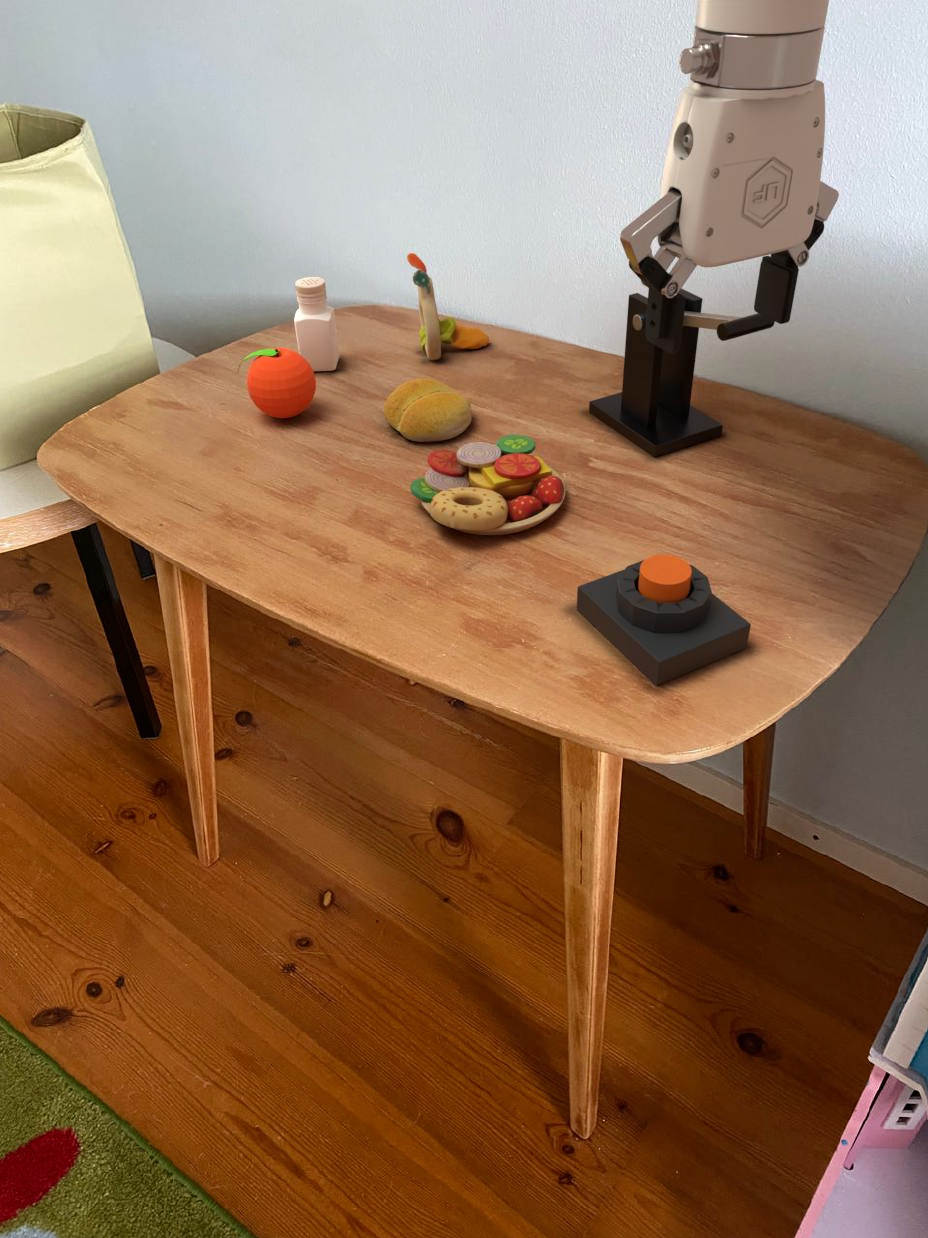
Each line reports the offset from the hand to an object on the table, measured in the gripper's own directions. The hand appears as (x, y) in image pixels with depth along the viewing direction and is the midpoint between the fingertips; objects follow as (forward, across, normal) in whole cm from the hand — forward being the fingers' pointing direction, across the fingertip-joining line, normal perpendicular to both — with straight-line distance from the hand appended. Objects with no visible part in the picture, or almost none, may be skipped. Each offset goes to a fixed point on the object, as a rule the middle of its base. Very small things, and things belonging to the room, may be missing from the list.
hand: (717, 331), depth 70 cm
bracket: (+18, +9, +18) cm, 27 cm away
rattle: (+18, 0, +44) cm, 47 cm away
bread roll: (+18, -10, +30) cm, 36 cm away
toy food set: (+18, -12, +14) cm, 26 cm away
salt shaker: (+18, -14, +49) cm, 54 cm away
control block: (+18, -9, -8) cm, 22 cm away
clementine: (+18, -22, +40) cm, 49 cm away
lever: (+7, +9, +13) cm, 17 cm away
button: (+14, -9, -8) cm, 19 cm away
